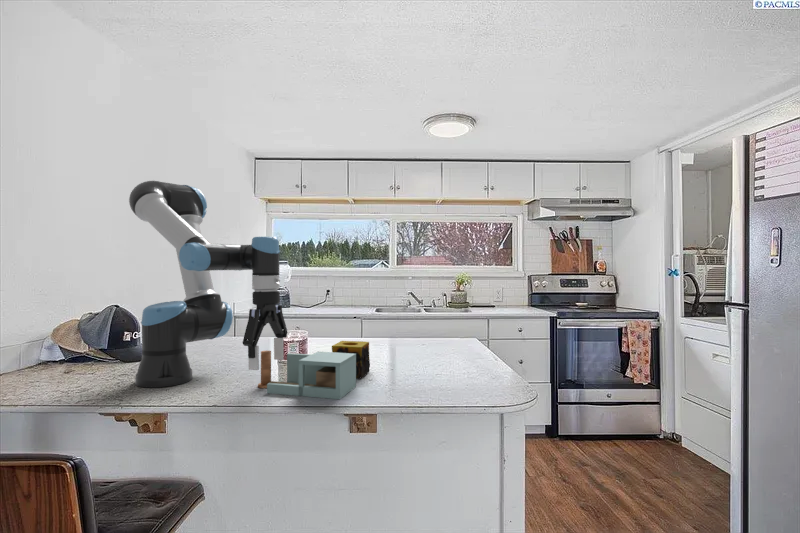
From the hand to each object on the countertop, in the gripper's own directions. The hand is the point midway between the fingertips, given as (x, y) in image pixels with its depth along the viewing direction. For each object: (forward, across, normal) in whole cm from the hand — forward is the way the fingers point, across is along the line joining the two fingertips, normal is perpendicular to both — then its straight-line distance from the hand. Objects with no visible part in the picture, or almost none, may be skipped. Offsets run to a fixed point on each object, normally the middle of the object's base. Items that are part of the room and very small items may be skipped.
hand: (266, 364), depth 129 cm
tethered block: (+6, 0, -10) cm, 12 cm away
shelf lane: (+7, 0, -14) cm, 15 cm away
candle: (+7, +19, -18) cm, 28 cm away
